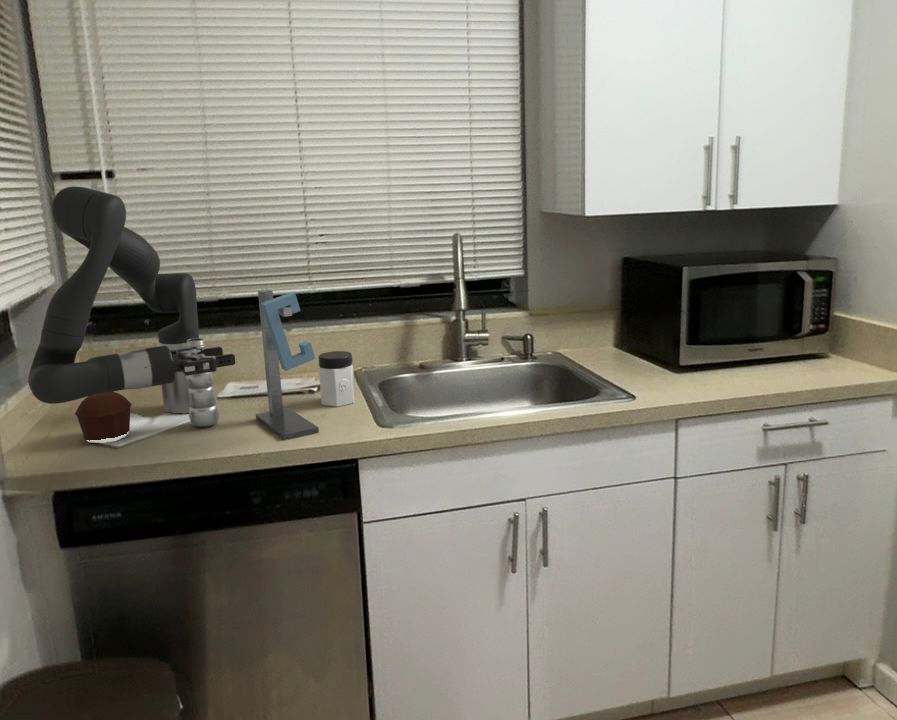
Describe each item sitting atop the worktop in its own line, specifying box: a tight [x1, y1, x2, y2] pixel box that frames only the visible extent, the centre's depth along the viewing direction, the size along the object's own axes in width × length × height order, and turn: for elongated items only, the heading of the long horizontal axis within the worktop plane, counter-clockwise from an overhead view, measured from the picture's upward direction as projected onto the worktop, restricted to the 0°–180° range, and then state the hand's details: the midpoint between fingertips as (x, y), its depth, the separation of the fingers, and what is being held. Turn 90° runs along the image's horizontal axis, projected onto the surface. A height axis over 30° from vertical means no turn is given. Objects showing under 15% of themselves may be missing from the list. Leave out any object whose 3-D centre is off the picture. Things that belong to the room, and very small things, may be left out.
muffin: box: [74, 391, 132, 441], centre depth 166 cm, size 12×11×10 cm
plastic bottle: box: [186, 337, 220, 428], centre depth 170 cm, size 6×7×20 cm
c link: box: [261, 292, 316, 372], centre depth 161 cm, size 7×3×15 cm, turn 123°
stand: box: [255, 289, 320, 441], centre depth 167 cm, size 8×18×30 cm, turn 33°
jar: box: [318, 350, 356, 408], centre depth 186 cm, size 9×8×12 cm
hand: (228, 355), depth 155 cm, fingers open, 8 cm apart
